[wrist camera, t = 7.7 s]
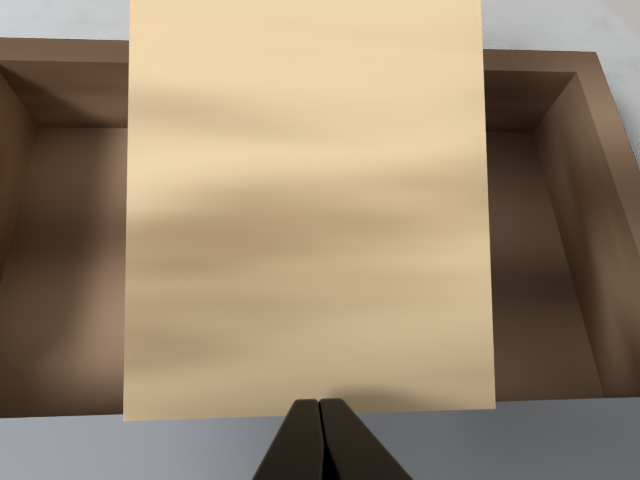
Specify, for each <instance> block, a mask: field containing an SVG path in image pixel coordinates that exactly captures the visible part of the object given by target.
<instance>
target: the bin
mask: <svg viewBox="0 0 640 480" xmlns="http://www.w3.org/2000/svg"><path fill="white" fill-rule="evenodd" d="M483 70H484V98H485V126H486V153H487V181H488V209H489V236H490V264H491V292H492V319H493V347H494V375H495V402H508V401H538V400H567V399H597V398H627V397H640V170H639V167H638V165H637V162H636V159H635V156H634V154H633V151H632V148H631V146H630V143H629V140H628V138H627V135H626V132H625V129H624V127H623V124H622V121H621V119H620V116H619V113H618V111H617V108H616V105H615V102H614V100H613V97H612V94H611V92H610V89H609V86H608V83H607V81H606V78H605V75H604V73H603V70H602V67H601V65H600V62H599V59H598V56H597V54H596V52H578V51H537V50H496V49H483ZM128 89H129V41H126V40H85V39H44V38H3V37H0V418H29V417H59V416H89V415H119V414H123V395H124V333H125V272H126V211H127V150H128Z"/></svg>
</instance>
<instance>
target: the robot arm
mask: <svg viewBox="0 0 640 480" xmlns="http://www.w3.org/2000/svg"><path fill="white" fill-rule="evenodd" d="M252 480H414V479H413V478H412V477H411V476H410V475H409V474H408V473H407V472H406V470H405V469H404V468H403V467H402V466H401V465H400V464H399V462H398V461H397V460H396V459H395V458H394V457H393V456H392V454H391V453H390V452H389V451H388V450H387V449H386V448H385V446H384V445H383V444H382V443H381V442H380V441H379V440H378V438H377V437H376V436H375V435H374V434H373V433H372V432H371V431H370V429H369V428H368V427H367V426H366V425H365V424H364V423H363V421H362V420H361V419H360V418H359V417H358V416H357V415H356V413H355V412H354V411H353V410H352V409H351V408H350V407H349V405H348V404H347V403H346V402H345V401H344V400H343V399H341V398H322V399H320V400H319V402H318V401H317V400H316V399H296V400H295V401H294V402H293V404H292V406H291V408H290V409H289V411H288V413H287V415H286V417H285V419H284V421H283V422H282V424H281V426H280V428H279V430H278V432H277V434H276V435H275V437H274V439H273V441H272V443H271V445H270V446H269V448H268V450H267V452H266V454H265V456H264V458H263V459H262V461H261V463H260V465H259V467H258V469H257V471H256V472H255V474H254V476H253V478H252Z"/></svg>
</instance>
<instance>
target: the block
mask: <svg viewBox="0 0 640 480" xmlns="http://www.w3.org/2000/svg"><path fill="white" fill-rule="evenodd" d="M322 398H341V399H343V400H344V401H345V402H346V403H347V404H348V405H349V407H350V408H351V409H352V410H353V411H354V412H355V413H356V414H357V413H387V412H417V411H446V410H476V409H496V402H495V375H494V347H493V319H492V292H491V264H490V236H489V209H488V181H487V153H486V126H485V98H484V70H483V43H482V15H481V0H130V27H129V89H128V150H127V211H126V272H125V333H124V395H123V421H150V420H180V419H210V418H239V417H269V416H286V415H287V413H288V411H289V409H290V408H291V406H292V404H293V402H294V401H295V400H296V399H316V400H317V401H318V402H319V400H320V399H322Z"/></svg>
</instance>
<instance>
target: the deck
mask: <svg viewBox="0 0 640 480" xmlns="http://www.w3.org/2000/svg"><path fill="white" fill-rule="evenodd" d="M356 415H357V416H358V417H359V418H360V419H361V420H362V421H363V423H364V424H365V425H366V426H367V427H368V428H369V429H370V431H371V432H372V433H373V434H374V435H375V436H376V437H377V438H378V440H379V441H380V442H381V443H382V444H383V445H384V446H385V448H386V449H387V450H388V451H389V452H390V453H391V454H392V456H393V457H394V458H395V459H396V460H397V461H398V462H399V464H400V465H401V466H402V467H403V468H404V469H405V470H406V472H407V473H408V474H409V475H410V476H411V477H412V478H413V479H414V480H640V397H627V398H597V399H567V400H538V401H508V402H496V409H476V410H446V411H417V412H387V413H357V414H356ZM285 417H286V416H269V417H239V418H210V419H180V420H150V421H123V414H119V415H89V416H59V417H29V418H0V480H252V478H253V476H254V474H255V472H256V471H257V469H258V467H259V465H260V463H261V461H262V459H263V458H264V456H265V454H266V452H267V450H268V448H269V446H270V445H271V443H272V441H273V439H274V437H275V435H276V434H277V432H278V430H279V428H280V426H281V424H282V422H283V421H284V419H285Z"/></svg>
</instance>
